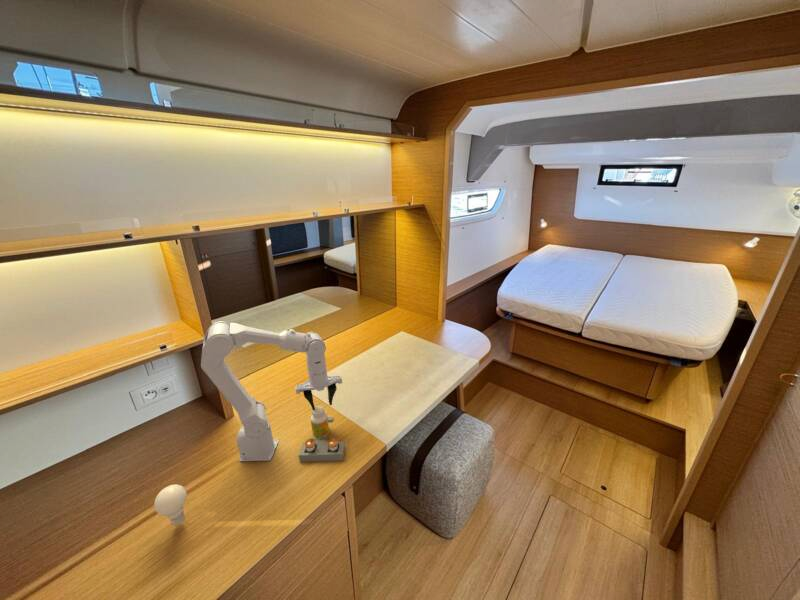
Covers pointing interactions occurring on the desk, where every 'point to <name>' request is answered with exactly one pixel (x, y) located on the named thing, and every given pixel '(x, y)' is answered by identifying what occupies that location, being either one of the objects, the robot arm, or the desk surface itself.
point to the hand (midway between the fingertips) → (321, 405)
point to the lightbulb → (171, 503)
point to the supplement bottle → (319, 422)
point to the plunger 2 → (333, 445)
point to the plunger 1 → (310, 446)
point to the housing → (322, 451)
